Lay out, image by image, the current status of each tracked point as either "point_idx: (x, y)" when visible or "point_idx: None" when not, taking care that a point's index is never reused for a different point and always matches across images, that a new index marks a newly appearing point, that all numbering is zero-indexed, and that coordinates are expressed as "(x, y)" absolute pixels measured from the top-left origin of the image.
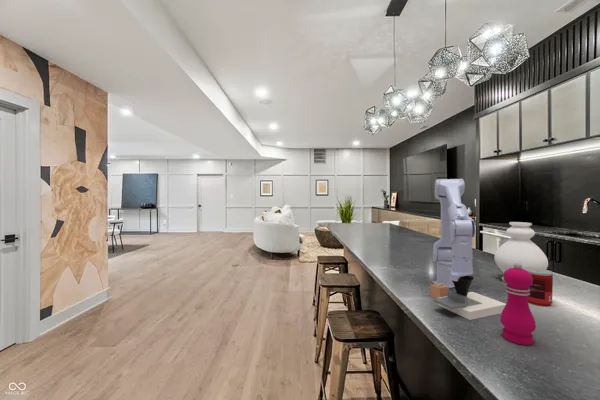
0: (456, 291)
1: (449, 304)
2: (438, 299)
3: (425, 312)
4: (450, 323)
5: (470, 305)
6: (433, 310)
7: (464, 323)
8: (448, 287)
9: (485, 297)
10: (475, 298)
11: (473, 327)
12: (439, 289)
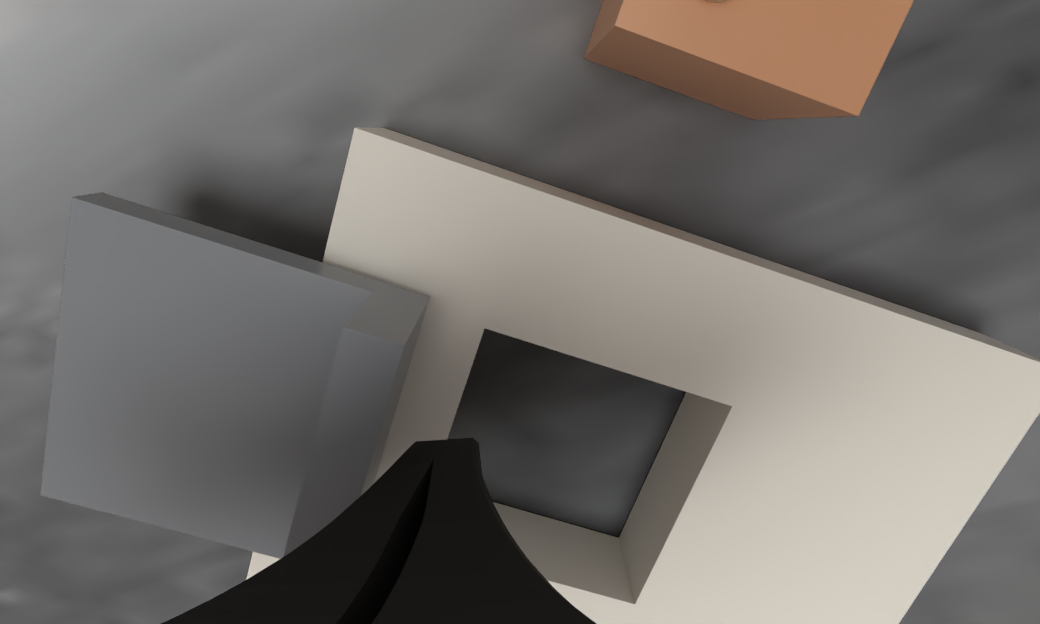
0: (368, 493)
1: (93, 448)
2: (123, 255)
3: (11, 142)
4: (33, 455)
5: (680, 414)
6: (164, 180)
7: (162, 532)
8: (839, 112)
9: (903, 557)
10: (766, 496)
11: (158, 603)
12: (612, 21)
